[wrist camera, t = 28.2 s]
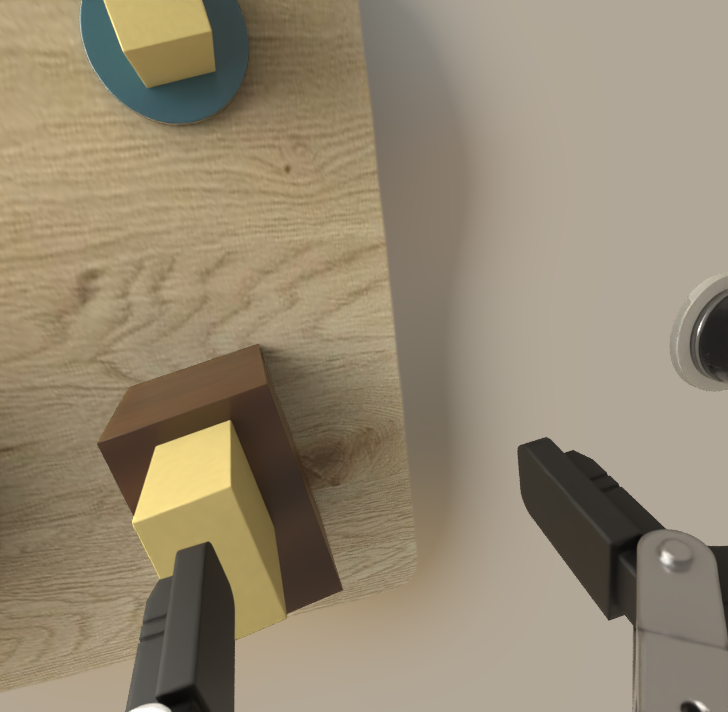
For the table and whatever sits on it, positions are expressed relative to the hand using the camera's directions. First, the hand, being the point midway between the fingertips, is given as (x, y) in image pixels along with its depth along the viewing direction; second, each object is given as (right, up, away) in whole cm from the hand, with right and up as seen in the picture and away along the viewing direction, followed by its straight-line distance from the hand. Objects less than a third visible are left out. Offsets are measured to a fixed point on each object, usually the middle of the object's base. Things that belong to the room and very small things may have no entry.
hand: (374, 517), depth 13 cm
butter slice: (-13, +24, +20) cm, 33 cm away
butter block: (-9, -4, +19) cm, 21 cm away
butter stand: (-11, -4, +29) cm, 31 cm away
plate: (-13, +24, +20) cm, 34 cm away
